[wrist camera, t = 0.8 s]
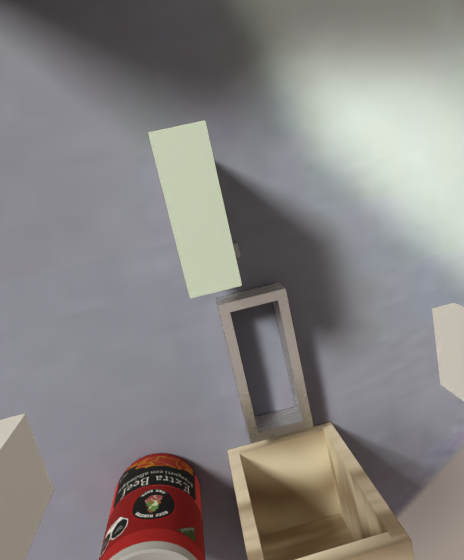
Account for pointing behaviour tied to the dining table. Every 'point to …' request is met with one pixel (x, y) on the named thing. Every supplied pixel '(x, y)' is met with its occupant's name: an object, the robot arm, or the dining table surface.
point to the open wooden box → (312, 501)
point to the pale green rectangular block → (196, 208)
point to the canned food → (155, 513)
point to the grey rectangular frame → (299, 414)
